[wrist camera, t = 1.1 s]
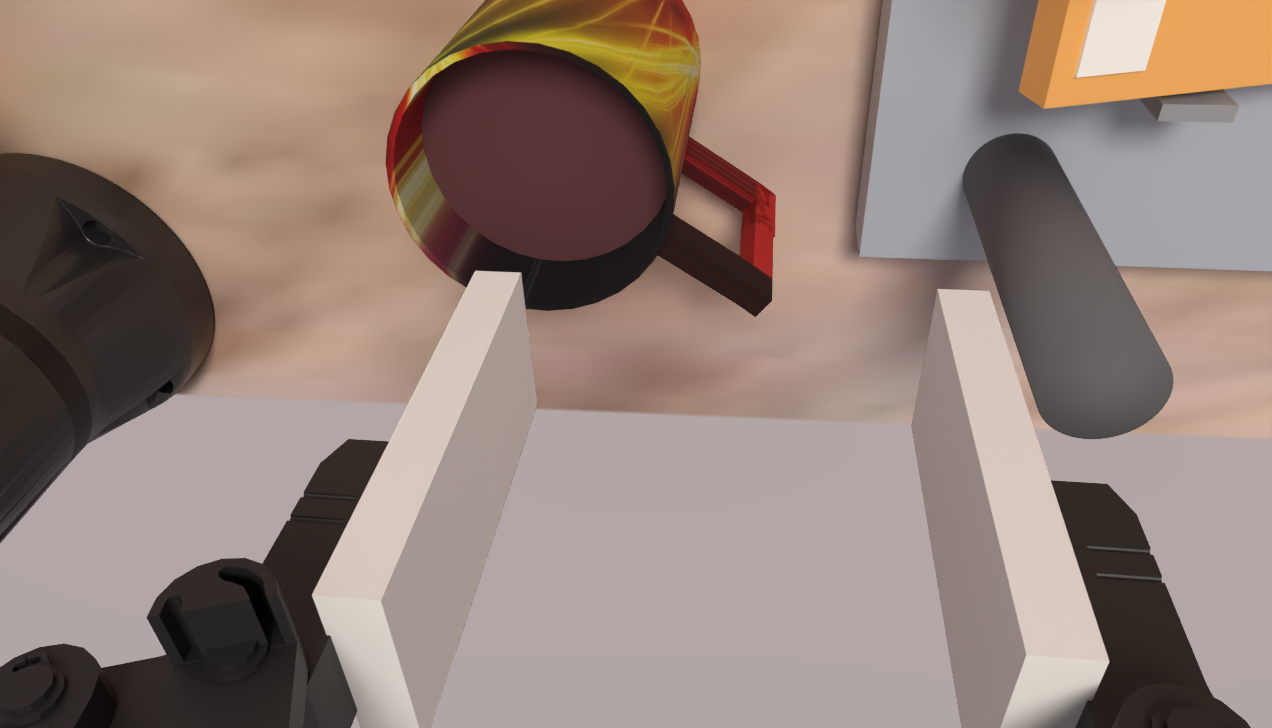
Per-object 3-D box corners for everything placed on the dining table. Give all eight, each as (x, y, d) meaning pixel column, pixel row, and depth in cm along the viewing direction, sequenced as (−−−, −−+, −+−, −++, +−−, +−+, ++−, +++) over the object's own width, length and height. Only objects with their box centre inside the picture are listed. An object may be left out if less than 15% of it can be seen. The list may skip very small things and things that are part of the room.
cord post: (955, 214, 39) (1023, 435, 28) (971, 132, 37) (1052, 337, 26) (1045, 216, 39) (1151, 442, 27) (1067, 134, 36) (1191, 342, 25)
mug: (771, 199, 43) (768, 353, 33) (477, 147, 43) (390, 285, 34) (824, -18, 37) (838, 94, 28) (482, -76, 37) (379, 15, 28)
